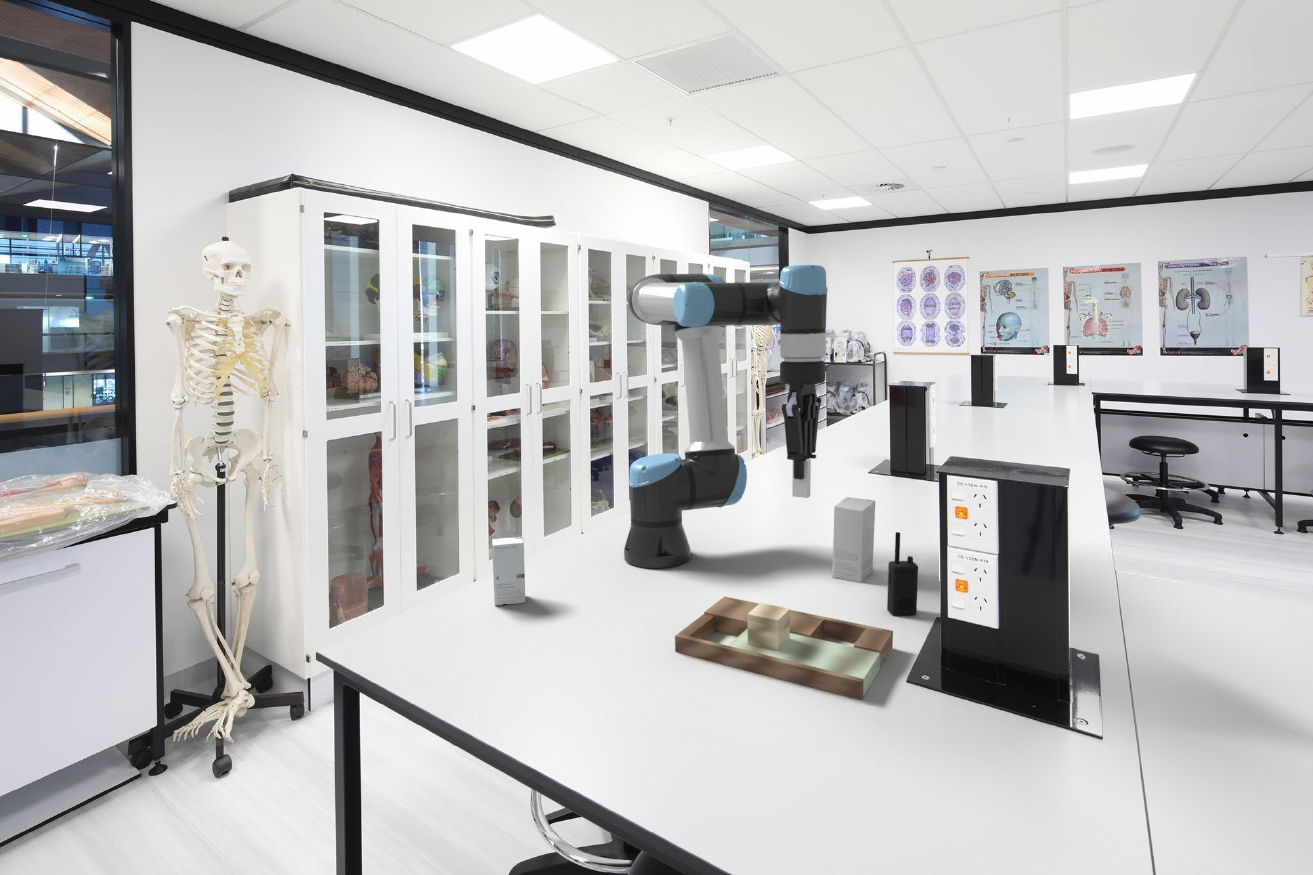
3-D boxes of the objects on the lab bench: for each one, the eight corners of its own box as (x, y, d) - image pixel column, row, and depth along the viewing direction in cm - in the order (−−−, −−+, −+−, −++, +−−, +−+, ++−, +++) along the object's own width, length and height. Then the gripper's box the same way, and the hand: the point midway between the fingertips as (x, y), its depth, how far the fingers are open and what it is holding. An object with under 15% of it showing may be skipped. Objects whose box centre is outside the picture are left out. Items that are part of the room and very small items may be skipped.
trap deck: (675, 651, 112) (674, 634, 112) (724, 611, 127) (724, 596, 127) (861, 700, 96) (861, 680, 96) (892, 648, 111) (893, 630, 111)
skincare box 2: (844, 566, 150) (846, 496, 147) (875, 571, 146) (877, 499, 143) (831, 578, 143) (832, 504, 140) (862, 584, 139) (864, 509, 137)
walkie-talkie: (910, 608, 127) (913, 529, 124) (918, 616, 123) (921, 534, 121) (884, 609, 127) (887, 530, 124) (891, 617, 123) (894, 535, 121)
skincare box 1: (494, 606, 132) (490, 545, 130) (494, 597, 136) (490, 538, 135) (527, 603, 134) (523, 542, 132) (526, 594, 138) (522, 535, 136)
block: (747, 644, 108) (747, 613, 107) (760, 631, 112) (760, 602, 111) (777, 651, 105) (777, 620, 105) (789, 638, 110) (789, 608, 109)
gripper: (795, 357, 124) (794, 486, 128) (766, 361, 113) (766, 502, 117) (836, 357, 120) (834, 490, 124) (810, 362, 109) (809, 507, 113)
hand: (801, 496), depth 120 cm, fingers closed
